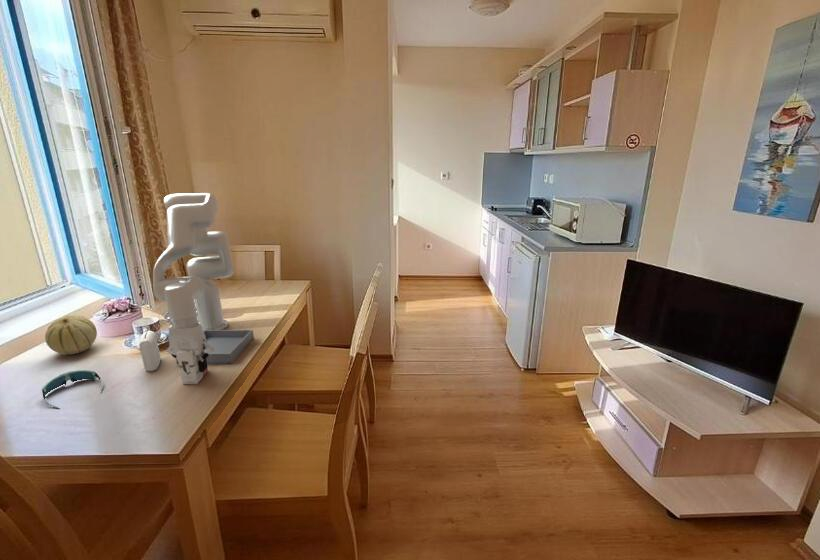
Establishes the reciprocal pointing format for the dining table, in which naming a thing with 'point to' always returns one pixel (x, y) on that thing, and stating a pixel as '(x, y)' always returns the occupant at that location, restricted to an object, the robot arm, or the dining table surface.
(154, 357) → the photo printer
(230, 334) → the tray
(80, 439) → the dining table surface
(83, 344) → the cantaloupe
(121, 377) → the dining table surface
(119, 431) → the dining table surface
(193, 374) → the ink box
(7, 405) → the dining table surface
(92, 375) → the sunglasses
